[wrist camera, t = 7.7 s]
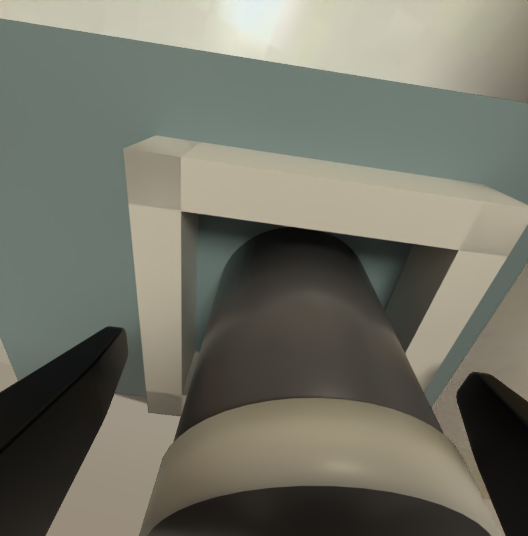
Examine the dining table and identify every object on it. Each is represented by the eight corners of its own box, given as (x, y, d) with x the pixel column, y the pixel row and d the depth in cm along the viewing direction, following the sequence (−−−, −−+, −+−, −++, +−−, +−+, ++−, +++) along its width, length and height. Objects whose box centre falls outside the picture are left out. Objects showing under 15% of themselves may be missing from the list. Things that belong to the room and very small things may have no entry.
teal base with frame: (514, 108, 11) (725, 127, 6) (389, 361, 18) (436, 476, 12) (-1, 26, 10) (-280, -35, 5) (71, 321, 17) (-20, 424, 12)
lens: (391, 235, 9) (602, 508, 3) (346, 356, 12) (418, 629, 6) (221, 212, 9) (114, 457, 3) (214, 340, 12) (148, 605, 6)
